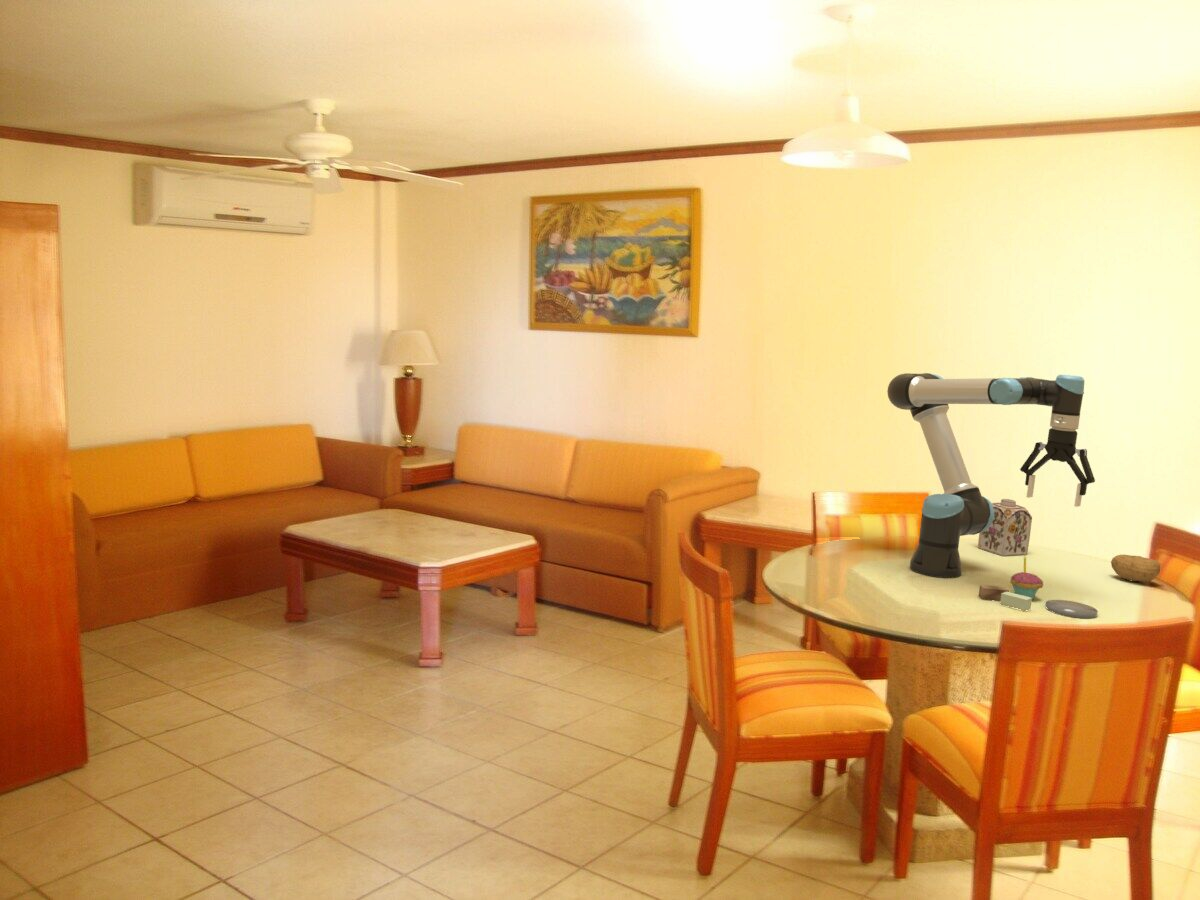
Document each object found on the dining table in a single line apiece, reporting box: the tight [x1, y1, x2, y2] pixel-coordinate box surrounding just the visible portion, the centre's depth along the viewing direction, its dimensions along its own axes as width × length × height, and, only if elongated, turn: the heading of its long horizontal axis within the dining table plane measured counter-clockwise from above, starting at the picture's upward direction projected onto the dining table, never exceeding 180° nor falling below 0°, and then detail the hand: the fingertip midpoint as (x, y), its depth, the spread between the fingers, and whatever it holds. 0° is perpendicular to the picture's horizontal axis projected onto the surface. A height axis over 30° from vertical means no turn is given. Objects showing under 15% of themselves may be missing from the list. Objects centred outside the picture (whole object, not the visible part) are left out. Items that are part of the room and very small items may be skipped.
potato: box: [1110, 554, 1162, 583], centre depth 318 cm, size 10×14×8 cm
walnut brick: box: [978, 584, 1010, 602], centre depth 287 cm, size 7×4×4 cm, turn 85°
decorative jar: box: [977, 498, 1033, 557], centre depth 347 cm, size 12×12×18 cm
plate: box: [1044, 599, 1099, 620], centre depth 280 cm, size 13×13×1 cm
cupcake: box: [1010, 556, 1044, 600], centre depth 290 cm, size 9×8×12 cm
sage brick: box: [999, 591, 1033, 612], centre depth 280 cm, size 7×4×4 cm, turn 45°
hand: (1053, 501), depth 297 cm, fingers open, 13 cm apart
